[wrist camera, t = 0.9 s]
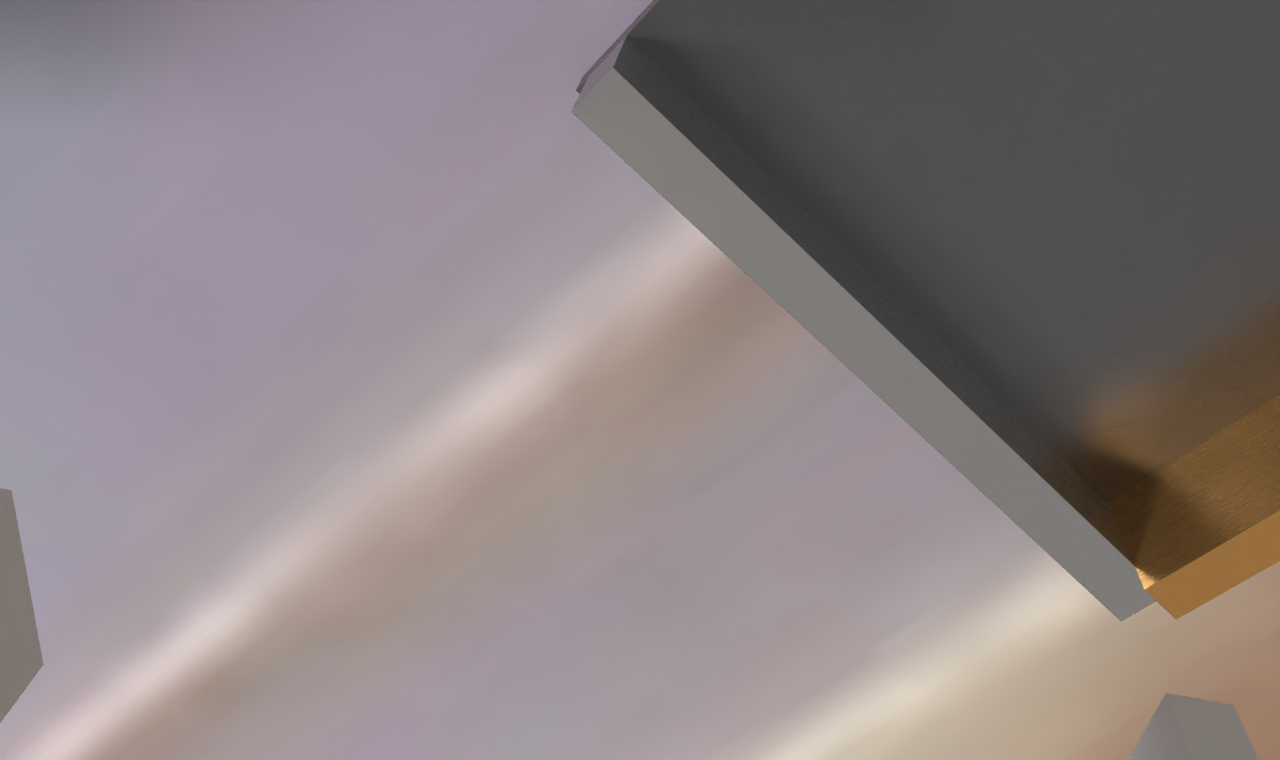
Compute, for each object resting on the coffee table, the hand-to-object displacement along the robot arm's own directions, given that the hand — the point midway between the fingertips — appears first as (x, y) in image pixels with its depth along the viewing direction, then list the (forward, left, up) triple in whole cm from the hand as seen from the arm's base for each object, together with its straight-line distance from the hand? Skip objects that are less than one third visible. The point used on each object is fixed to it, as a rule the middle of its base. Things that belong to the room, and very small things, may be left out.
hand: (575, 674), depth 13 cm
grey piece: (+8, +8, -21) cm, 24 cm away
